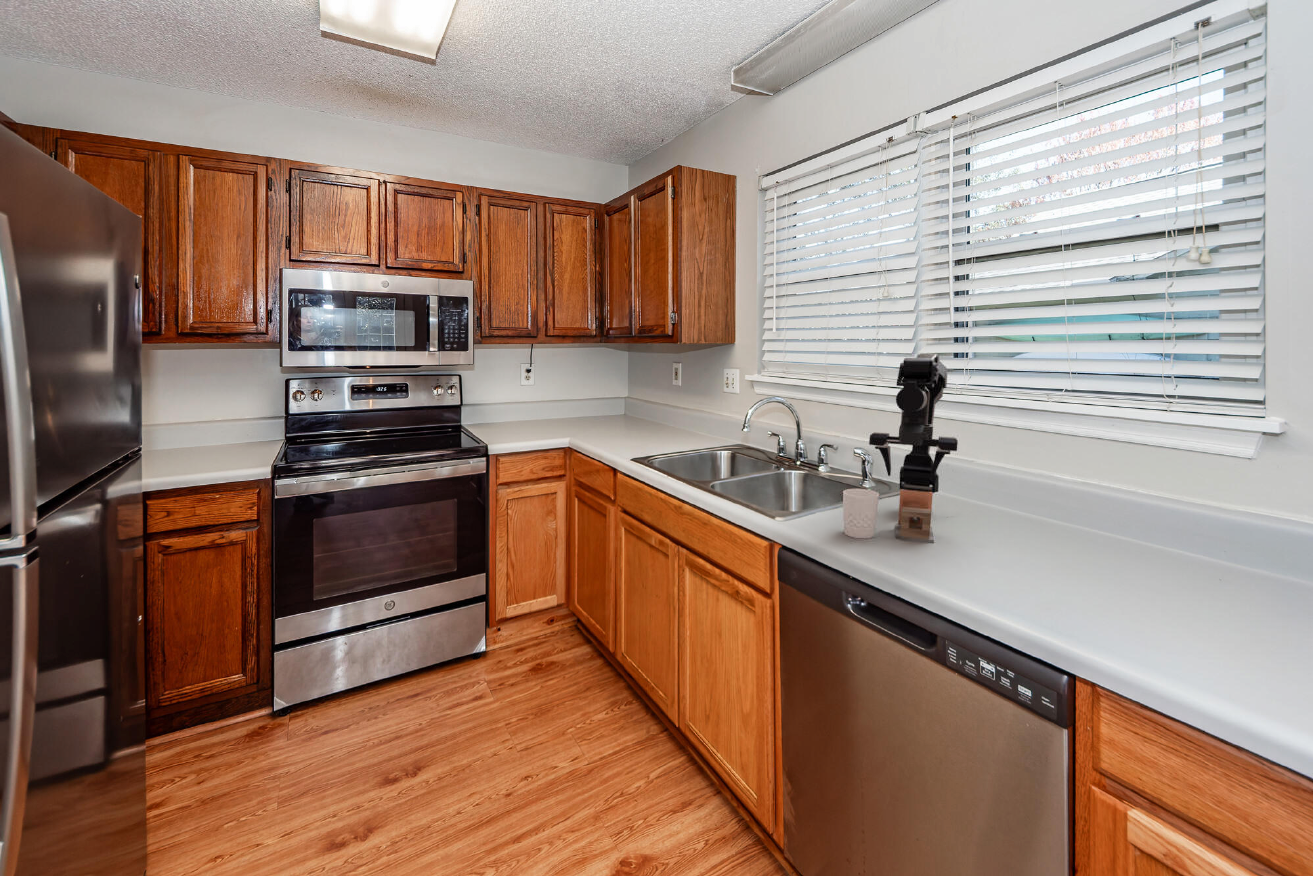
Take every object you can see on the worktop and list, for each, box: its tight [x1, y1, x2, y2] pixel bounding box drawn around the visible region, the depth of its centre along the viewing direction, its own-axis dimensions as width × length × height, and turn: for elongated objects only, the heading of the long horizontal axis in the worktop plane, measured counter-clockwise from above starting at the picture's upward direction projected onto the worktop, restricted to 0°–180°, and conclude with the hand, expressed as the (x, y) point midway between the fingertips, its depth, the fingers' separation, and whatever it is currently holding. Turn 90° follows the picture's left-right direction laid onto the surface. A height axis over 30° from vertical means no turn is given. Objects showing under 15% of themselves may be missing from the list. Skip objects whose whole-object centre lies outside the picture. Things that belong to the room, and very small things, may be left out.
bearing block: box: [895, 507, 935, 544], centre depth 135 cm, size 10×8×7 cm
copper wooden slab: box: [897, 488, 934, 526], centre depth 136 cm, size 5×7×9 cm
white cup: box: [842, 488, 880, 539], centre depth 135 cm, size 8×8×10 cm
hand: (910, 477), depth 137 cm, fingers open, 9 cm apart
